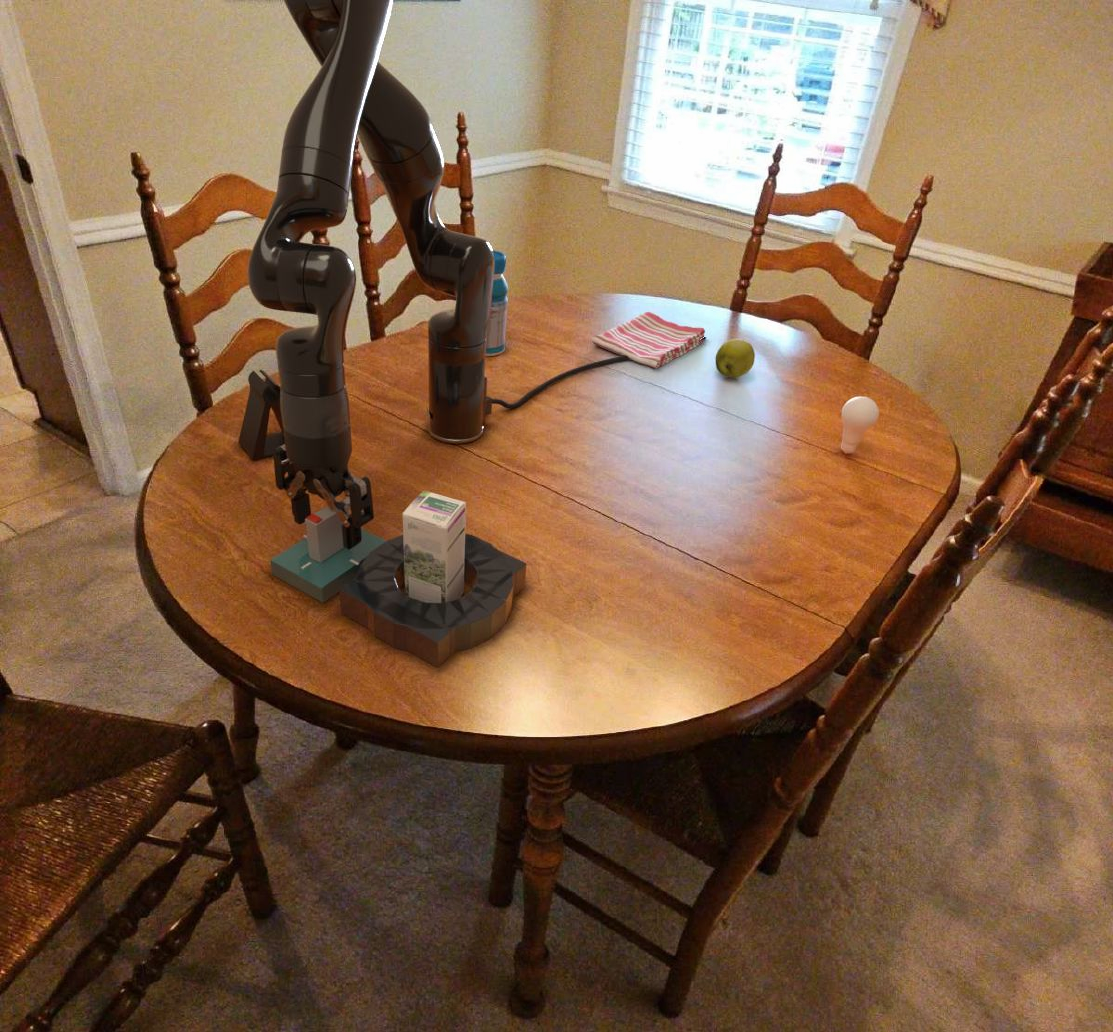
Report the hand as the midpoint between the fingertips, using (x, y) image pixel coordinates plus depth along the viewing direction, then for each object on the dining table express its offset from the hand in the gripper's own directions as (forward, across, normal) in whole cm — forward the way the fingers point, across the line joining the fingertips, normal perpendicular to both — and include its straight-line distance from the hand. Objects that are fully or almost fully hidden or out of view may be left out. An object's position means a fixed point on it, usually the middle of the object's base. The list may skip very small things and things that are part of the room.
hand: (327, 533), depth 98 cm
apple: (+5, -19, -96) cm, 98 cm away
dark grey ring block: (+5, -15, -3) cm, 16 cm away
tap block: (+5, 0, 0) cm, 5 cm away
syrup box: (+6, -15, -3) cm, 16 cm away
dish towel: (+5, +2, -99) cm, 99 cm away
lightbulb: (+5, -48, -79) cm, 93 cm away
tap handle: (+3, 0, 0) cm, 3 cm away
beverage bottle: (+5, +27, -71) cm, 76 cm away
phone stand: (+5, +29, -16) cm, 34 cm away
